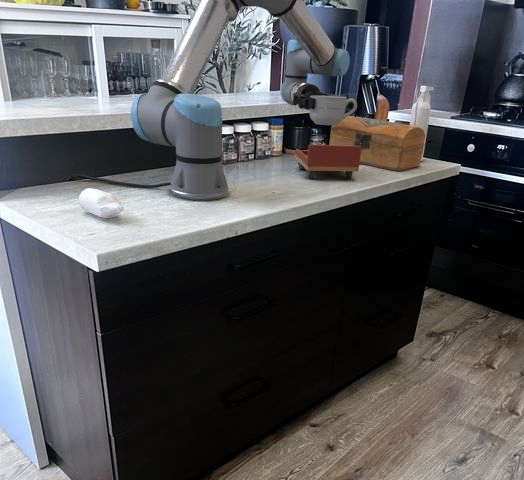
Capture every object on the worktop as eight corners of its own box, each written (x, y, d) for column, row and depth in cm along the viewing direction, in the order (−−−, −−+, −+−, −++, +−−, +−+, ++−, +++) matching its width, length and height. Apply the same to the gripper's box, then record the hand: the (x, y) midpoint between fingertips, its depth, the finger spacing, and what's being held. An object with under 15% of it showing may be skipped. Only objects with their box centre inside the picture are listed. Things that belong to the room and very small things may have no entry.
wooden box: (325, 157, 192) (329, 116, 185) (351, 152, 202) (356, 113, 195) (395, 172, 174) (403, 128, 167) (420, 166, 185) (428, 124, 178)
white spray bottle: (395, 161, 192) (408, 85, 179) (410, 157, 200) (424, 84, 187) (412, 164, 188) (427, 87, 176) (426, 160, 196) (441, 86, 184)
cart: (306, 180, 158) (309, 145, 153) (293, 167, 174) (296, 134, 169) (356, 181, 161) (361, 146, 155) (339, 168, 177) (343, 135, 171)
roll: (110, 226, 112) (107, 200, 109) (79, 213, 119) (76, 188, 116) (133, 221, 116) (131, 196, 113) (102, 209, 123) (100, 185, 120)
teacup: (303, 124, 156) (305, 95, 151) (314, 120, 164) (317, 92, 160) (348, 129, 151) (352, 99, 147) (357, 125, 160) (361, 96, 156)
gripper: (338, 109, 176) (369, 118, 159) (269, 108, 169) (294, 117, 151) (341, 84, 172) (373, 90, 155) (271, 82, 165) (296, 89, 148)
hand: (334, 104), depth 153 cm, fingers closed on teacup, 12 cm apart
